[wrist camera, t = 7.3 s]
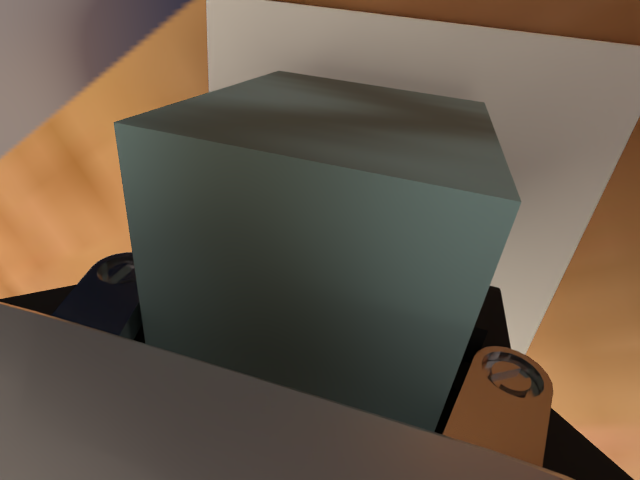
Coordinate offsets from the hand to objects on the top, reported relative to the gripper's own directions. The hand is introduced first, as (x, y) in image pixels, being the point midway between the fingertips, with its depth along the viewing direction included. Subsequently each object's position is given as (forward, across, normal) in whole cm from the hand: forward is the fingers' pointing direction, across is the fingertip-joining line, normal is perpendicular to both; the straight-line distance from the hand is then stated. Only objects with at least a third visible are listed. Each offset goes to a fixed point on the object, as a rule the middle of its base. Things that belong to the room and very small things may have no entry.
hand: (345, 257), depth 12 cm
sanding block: (+1, 0, 0) cm, 1 cm away
